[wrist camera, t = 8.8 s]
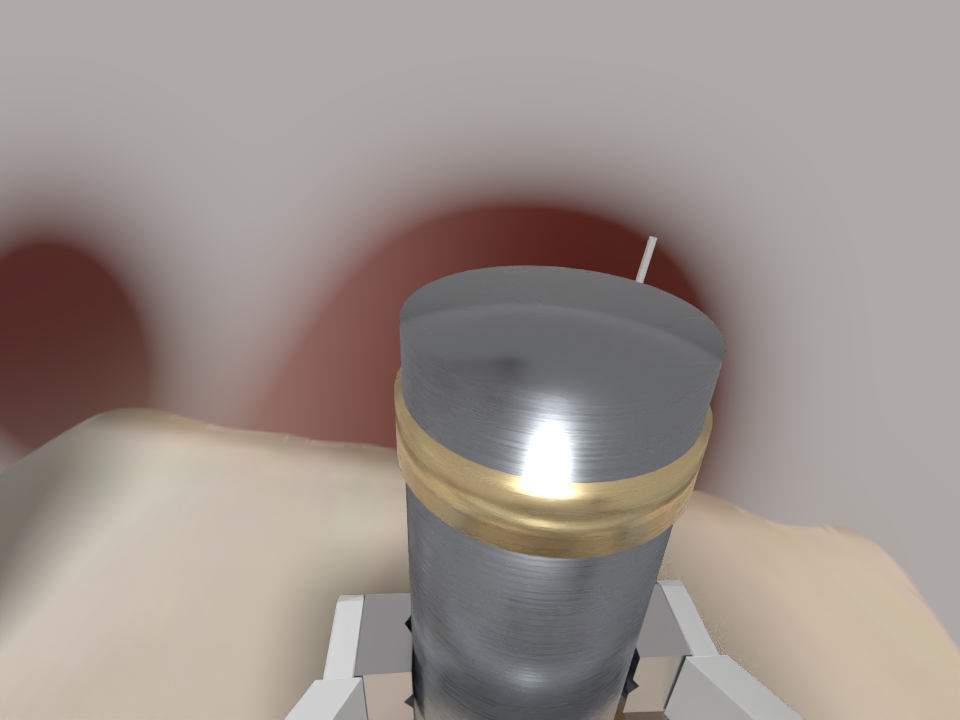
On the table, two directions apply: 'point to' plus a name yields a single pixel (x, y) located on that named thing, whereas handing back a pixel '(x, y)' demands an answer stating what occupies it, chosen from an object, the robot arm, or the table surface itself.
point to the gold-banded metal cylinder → (543, 480)
